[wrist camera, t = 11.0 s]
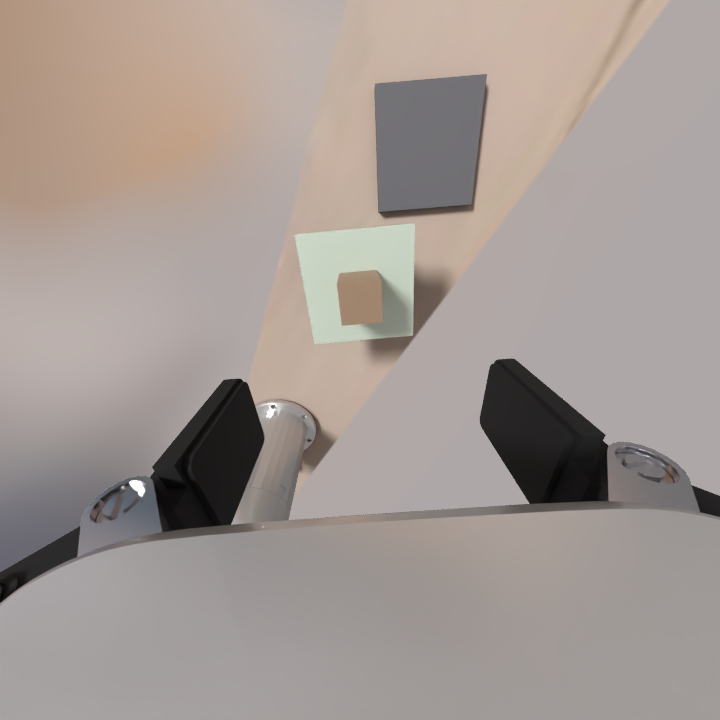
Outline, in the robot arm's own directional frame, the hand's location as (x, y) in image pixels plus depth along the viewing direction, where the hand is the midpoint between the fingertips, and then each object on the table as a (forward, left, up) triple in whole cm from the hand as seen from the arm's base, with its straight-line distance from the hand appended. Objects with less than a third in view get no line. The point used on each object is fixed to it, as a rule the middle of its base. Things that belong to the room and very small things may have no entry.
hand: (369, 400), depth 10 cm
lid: (0, 0, -19) cm, 19 cm away
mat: (+13, -9, -28) cm, 32 cm away
